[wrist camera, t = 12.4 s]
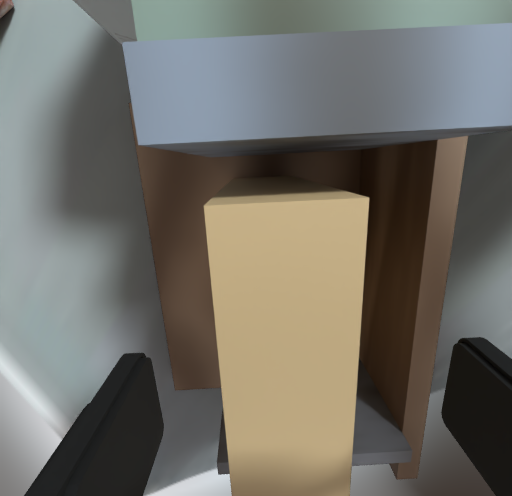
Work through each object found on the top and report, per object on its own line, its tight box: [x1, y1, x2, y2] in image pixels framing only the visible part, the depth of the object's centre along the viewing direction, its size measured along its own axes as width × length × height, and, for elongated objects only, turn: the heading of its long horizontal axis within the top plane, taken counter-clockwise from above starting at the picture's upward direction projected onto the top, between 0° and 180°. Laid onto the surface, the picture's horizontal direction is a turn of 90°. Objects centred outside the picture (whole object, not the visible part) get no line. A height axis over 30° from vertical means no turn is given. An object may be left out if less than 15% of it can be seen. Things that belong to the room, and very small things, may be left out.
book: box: [204, 176, 369, 496], centre depth 15 cm, size 4×12×13 cm, turn 3°
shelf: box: [122, 0, 512, 479], centre depth 16 cm, size 16×22×14 cm
